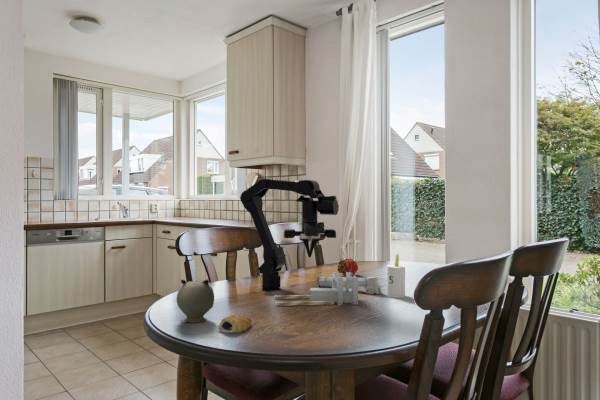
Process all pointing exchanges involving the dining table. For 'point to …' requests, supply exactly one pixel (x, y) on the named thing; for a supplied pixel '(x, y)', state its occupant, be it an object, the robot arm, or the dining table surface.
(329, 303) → the guide rails
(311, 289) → the gray rectangular bar
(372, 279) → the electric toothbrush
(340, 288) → the slotted u bracket
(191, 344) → the dining table surface
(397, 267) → the candle
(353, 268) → the dragon fruit
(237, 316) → the pastry
